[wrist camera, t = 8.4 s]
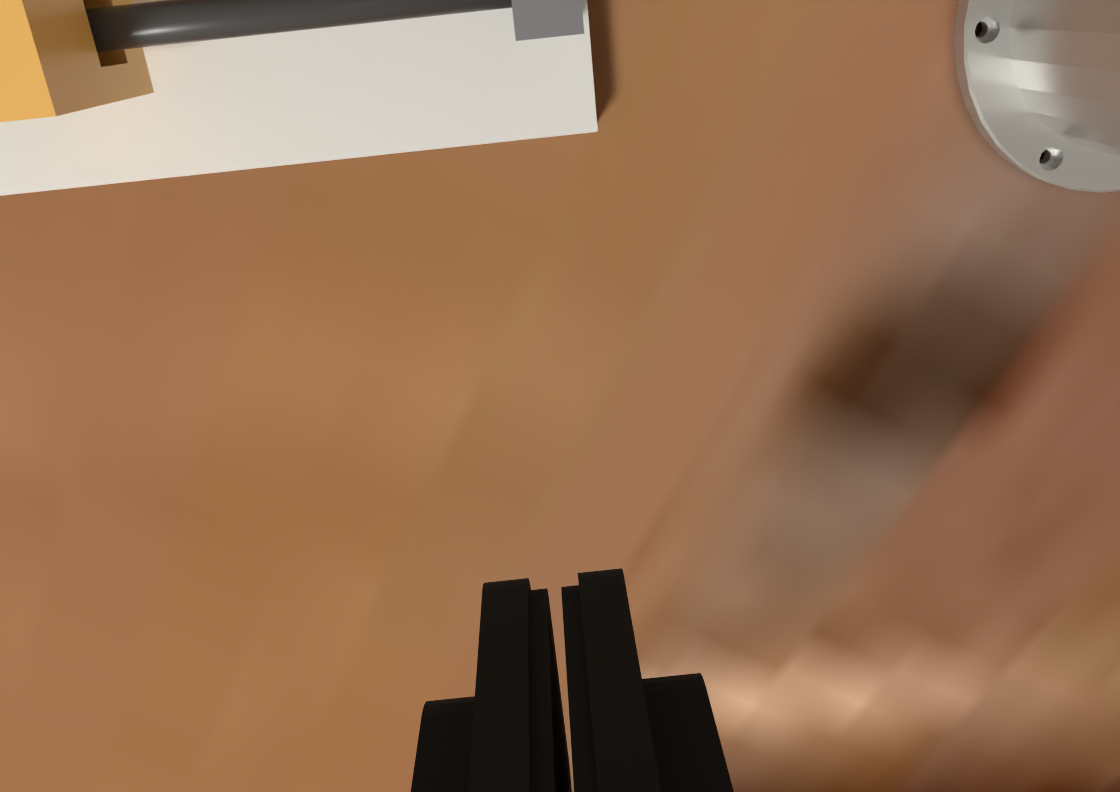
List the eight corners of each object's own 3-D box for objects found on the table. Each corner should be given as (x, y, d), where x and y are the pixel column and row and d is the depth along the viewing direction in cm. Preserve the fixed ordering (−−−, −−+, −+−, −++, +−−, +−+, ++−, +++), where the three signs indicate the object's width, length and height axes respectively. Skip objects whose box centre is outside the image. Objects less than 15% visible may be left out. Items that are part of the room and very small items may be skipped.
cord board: (569, -183, 31) (585, -250, 23) (594, 126, 35) (616, 164, 27) (-236, -96, 31) (-508, -131, 23) (-122, 203, 35) (-321, 264, 27)
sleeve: (119, -42, 29) (5, -54, 23) (154, 92, 31) (56, 116, 24) (-40, -24, 29) (-199, -32, 23) (2, 108, 31) (-136, 136, 24)
